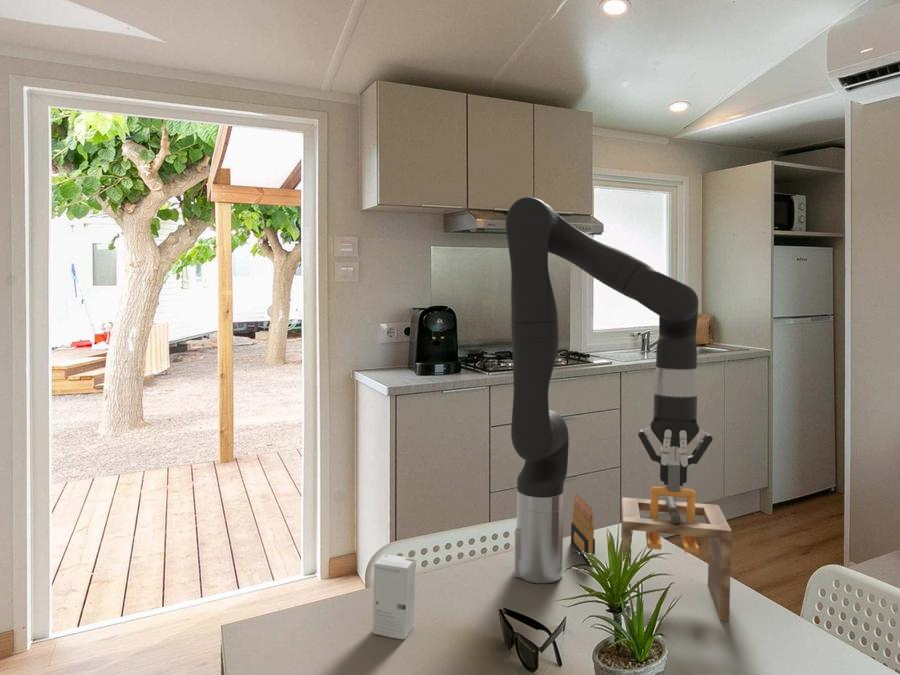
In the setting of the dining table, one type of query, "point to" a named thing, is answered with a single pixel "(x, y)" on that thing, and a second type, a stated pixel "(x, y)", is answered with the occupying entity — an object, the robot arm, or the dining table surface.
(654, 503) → the orange footed arch
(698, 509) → the wooden frame stand
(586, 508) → the ammunition clip
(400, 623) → the skincare box
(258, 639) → the dining table surface
